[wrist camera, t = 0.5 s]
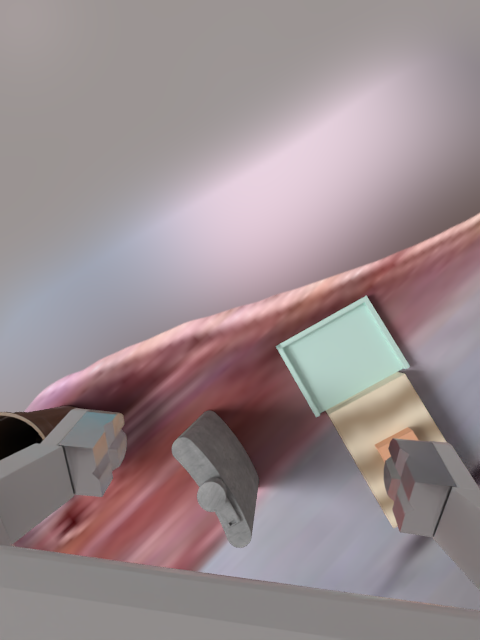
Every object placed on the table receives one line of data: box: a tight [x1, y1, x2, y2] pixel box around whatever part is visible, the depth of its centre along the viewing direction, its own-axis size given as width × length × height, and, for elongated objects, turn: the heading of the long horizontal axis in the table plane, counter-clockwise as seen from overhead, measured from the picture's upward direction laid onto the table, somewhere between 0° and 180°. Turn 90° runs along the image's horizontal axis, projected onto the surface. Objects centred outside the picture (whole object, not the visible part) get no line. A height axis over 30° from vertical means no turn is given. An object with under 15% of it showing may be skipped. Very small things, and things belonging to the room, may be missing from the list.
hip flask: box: [172, 411, 259, 548], centre depth 51 cm, size 16×4×20 cm, turn 36°
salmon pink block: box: [375, 427, 419, 462], centre depth 53 cm, size 9×6×2 cm, turn 29°
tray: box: [276, 296, 410, 417], centre depth 59 cm, size 14×18×2 cm
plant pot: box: [0, 406, 76, 460], centre depth 57 cm, size 16×16×16 cm
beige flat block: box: [326, 372, 446, 528], centre depth 56 cm, size 20×14×4 cm
